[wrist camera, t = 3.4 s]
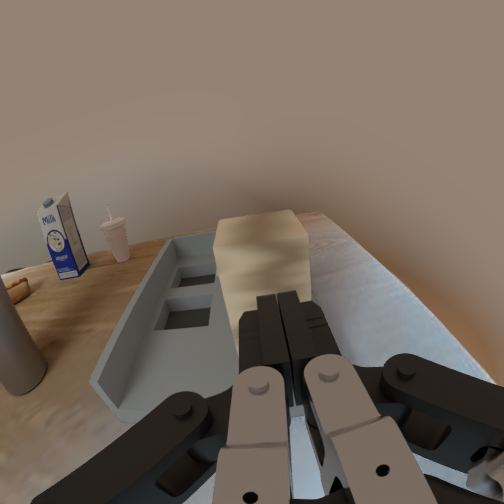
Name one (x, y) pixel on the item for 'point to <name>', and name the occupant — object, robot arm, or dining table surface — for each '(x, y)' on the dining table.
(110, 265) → the dining table surface
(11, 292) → the food
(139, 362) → the trap deck
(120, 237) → the smoothie
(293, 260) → the maple block
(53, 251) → the milk carton
